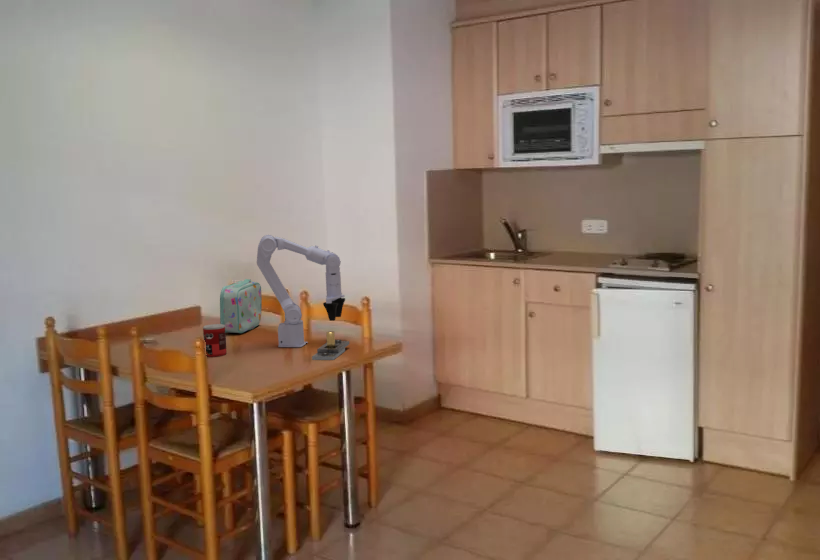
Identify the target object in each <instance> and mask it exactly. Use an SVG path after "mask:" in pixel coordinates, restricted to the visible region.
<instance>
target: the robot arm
mask: <svg viewBox="0 0 820 560" xmlns="http://www.w3.org/2000/svg"><path fill="white" fill-rule="evenodd" d="M276 249H277V251H282V250H288V251H291V252H294V253H296V254H300V255H303V256H304V257H305V258H306V260H307V261H309V262H312V263H315V264H319V265H321V266H323V265H325V287H326V289H325V291H326V295H325V297H326V298H325V302H323V303H322V305H323V307H324V309H325V310H326V313H327V317H328V320H329V321H332V322H333V321H336V318H341V317H342V312H343V309H344V308H343V307H344V303H345V301H346V298H345V294H343V292H342V280H341V279H342V277H341V267H340V266H341V261H342V260H341V259H340V256H338V255H337V254H336V253H335V252H332V251H330V250H328V249H327V250H325V249H322V248H320V247H319V246H318V245H311V246H309V247H306V246H304V245H302V244H299V243H297V242H293V241H291V240H289V239H286V238H283V237H279V236H273V235H272V234H265V235H264V236H262V237H261V239H260V240H259V243H258V246H257V251H256V252H257V255H256V265H257V267H258V269H259V270H260V272H261V273H262V275H263V277H264V279H265V280H266V282H267V284H268V286H269V287H270V289H271V291H272V292H273V294H274V295H275V297H276V299H277V300H278V302H279V305H280V306H281V308H282V311H283V312H284V322H280V323H279V324H278V326H277V339H278V340H277V342H278V346H277V347H278V348H302V347H304V346H305V345H306V343H307V344H308V343H309V342H308V341H305V334H304V320H303V319H302V317H303V316H302V315H303V314H302V310H301V308H300V306H299V305H298V304H296V303H295V302H294V300H293V299H292V297H291V296H290V294H289V293H288V291H287V289H286V287H285V285H284V284H283V282H282V281H281V279H280V277H279V275H278V273H277V272H276V270H275V269H274V267H273V265H272V264H271V259H272V255H273V254H274V252H275V251H276ZM285 318H286V320H285Z"/></svg>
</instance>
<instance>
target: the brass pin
mask: <svg viewBox="0 0 820 560" xmlns="http://www.w3.org/2000/svg"><path fill="white" fill-rule="evenodd" d="M325 334H326V343H327V348H335V340H336V337H335V331H333V330H332V331H330V330H329V331H326V332H325Z"/></svg>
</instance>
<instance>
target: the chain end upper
mask: <svg viewBox="0 0 820 560" xmlns="http://www.w3.org/2000/svg"><path fill="white" fill-rule="evenodd" d="M349 345H350V340H342V339H335V348H327V342H326V343H324V344H322V345H321V346H320V347H318V348H317V349H316V350H317V351H316V353H318V352H329V353H339V352H340V351H341V350H343V349H344V348H345V349H346V348H347V347H348V346H349Z"/></svg>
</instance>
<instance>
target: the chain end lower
mask: <svg viewBox="0 0 820 560" xmlns="http://www.w3.org/2000/svg"><path fill="white" fill-rule="evenodd" d="M345 352H346V347H345V348H344V349H343V350H341V351H340V352H339V353H329V352H316V353H315V354H314V355H312V356H311V359H312V360H313V361H314V360H315V361H316V360H317V361H334V360H336V359H337V358H338V357H340V356H341V355H342V354H344V353H345Z"/></svg>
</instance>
